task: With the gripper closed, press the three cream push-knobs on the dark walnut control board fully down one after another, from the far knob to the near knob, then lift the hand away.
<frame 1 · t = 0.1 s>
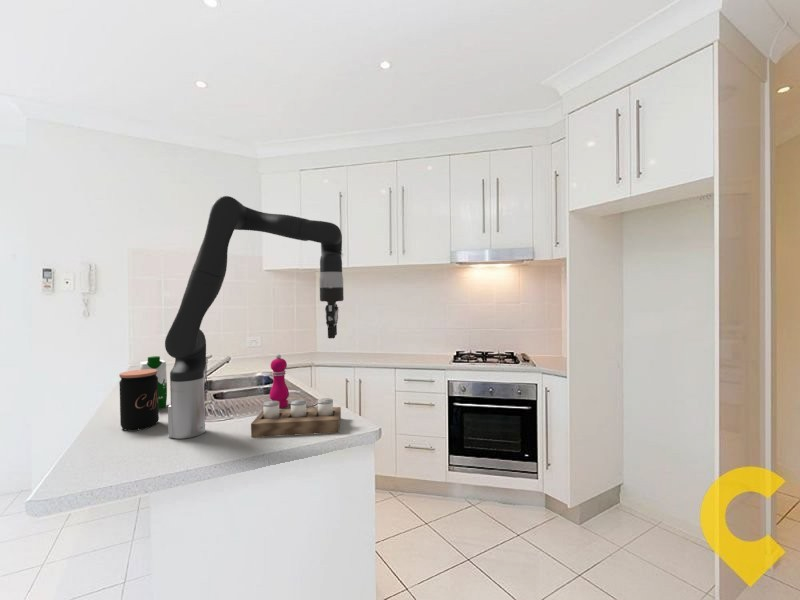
hand: (332, 336, 127), 29 cm above the table, tool pointing down, fingers open, 8 cm apart
coffee jar: (140, 426, 132), on the table
middle knob: (298, 409, 127), point 6 cm above the table, slide at 0.0 cm
pepper mill: (279, 406, 153), on the table
milk carton: (154, 408, 154), on the table
near knob: (271, 410, 126), point 6 cm above the table, slide at 0.0 cm
far knob: (325, 408, 128), point 6 cm above the table, slide at 0.0 cm
control board: (298, 427, 127), on the table
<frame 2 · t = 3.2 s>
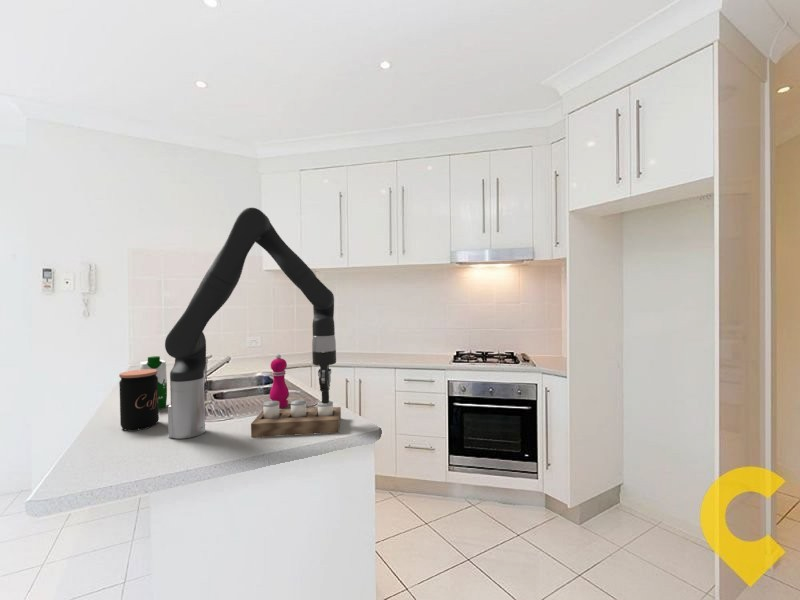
hand: (325, 402, 128), 8 cm above the table, tool pointing down, fingers closed
far knob: (325, 410, 128), point 5 cm above the table, slide at 0.8 cm, touching gripper
everything else where it was.
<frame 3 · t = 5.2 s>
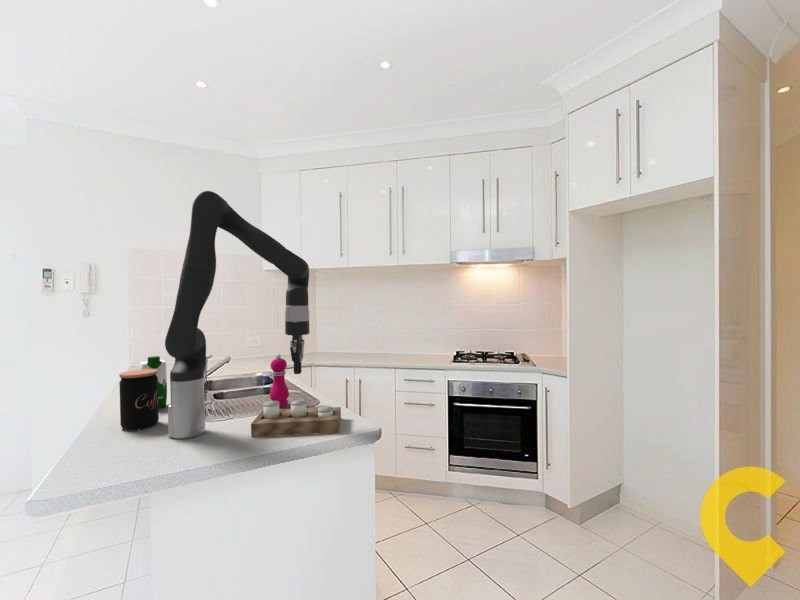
hand: (297, 373, 127), 17 cm above the table, tool pointing down, fingers closed
far knob: (325, 416, 128), point 3 cm above the table, slide at 2.6 cm
everything else where it was.
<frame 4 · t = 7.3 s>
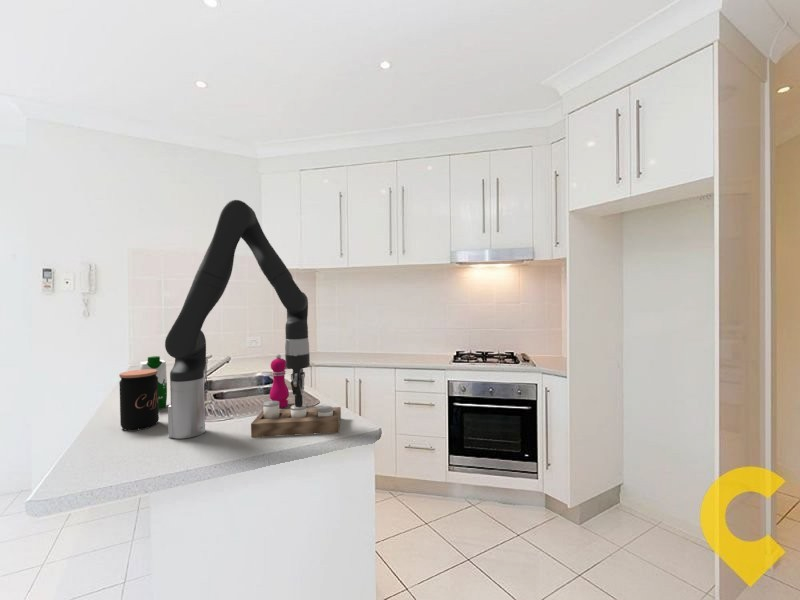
hand: (298, 406, 127), 7 cm above the table, tool pointing down, fingers closed
middle knob: (298, 414, 127), point 4 cm above the table, slide at 1.5 cm, touching gripper
everything else where it was.
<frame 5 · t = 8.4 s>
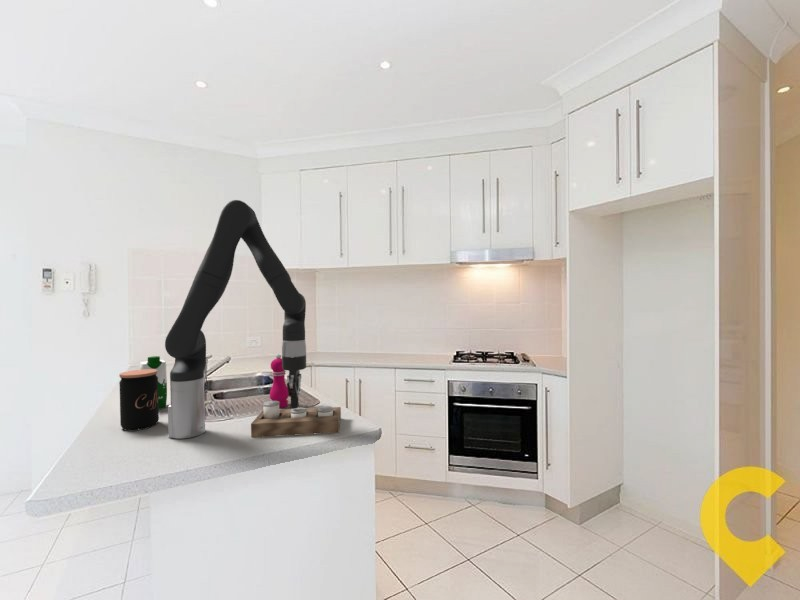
hand: (294, 407, 127), 6 cm above the table, tool pointing down, fingers closed
middle knob: (298, 417, 127), point 3 cm above the table, slide at 2.6 cm
everything else where it was.
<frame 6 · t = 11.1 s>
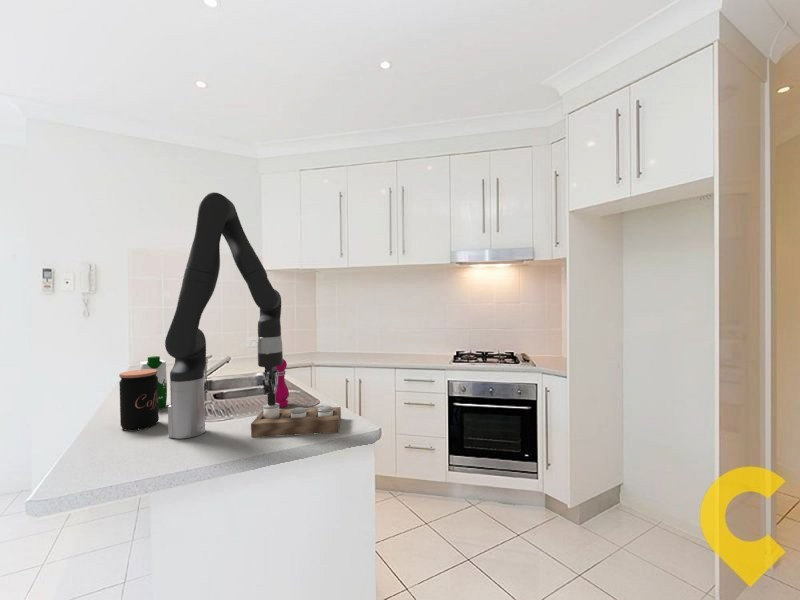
hand: (271, 404, 126), 8 cm above the table, tool pointing down, fingers closed
near knob: (271, 412, 126), point 5 cm above the table, slide at 0.7 cm, touching gripper
everything else where it was.
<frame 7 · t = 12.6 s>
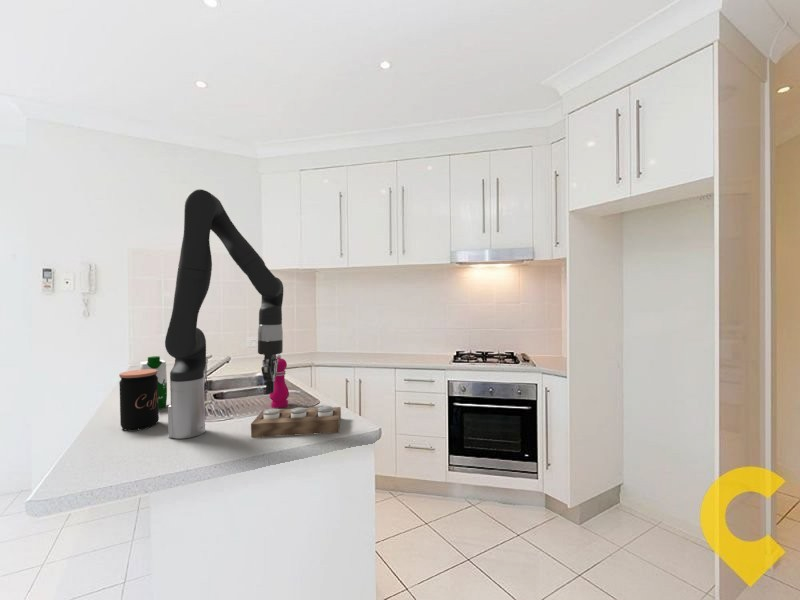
hand: (270, 392, 126), 12 cm above the table, tool pointing down, fingers closed
near knob: (271, 418, 126), point 3 cm above the table, slide at 2.6 cm
everything else where it was.
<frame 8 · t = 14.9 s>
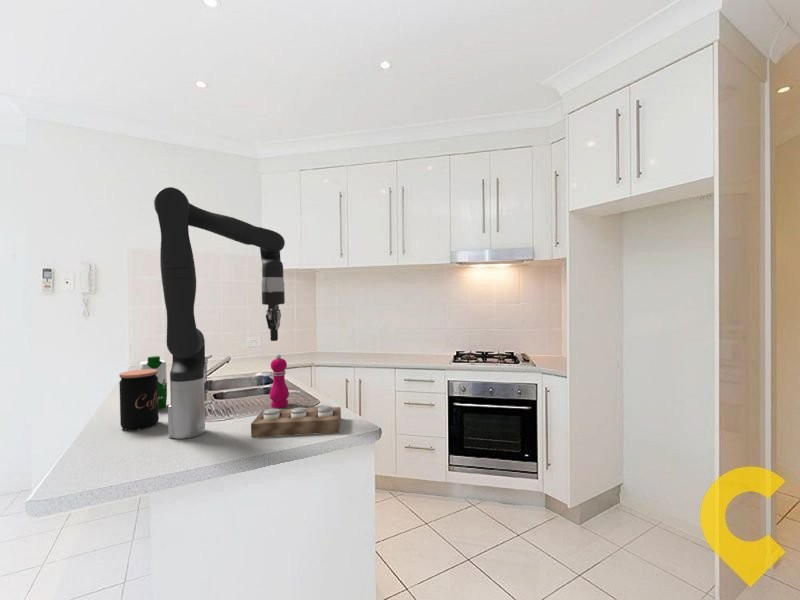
hand: (274, 340, 137), 27 cm above the table, tool pointing down, fingers closed
nothing on the table moved.
at the end: far knob slide at 2.6 cm; middle knob slide at 2.6 cm; near knob slide at 2.6 cm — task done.
